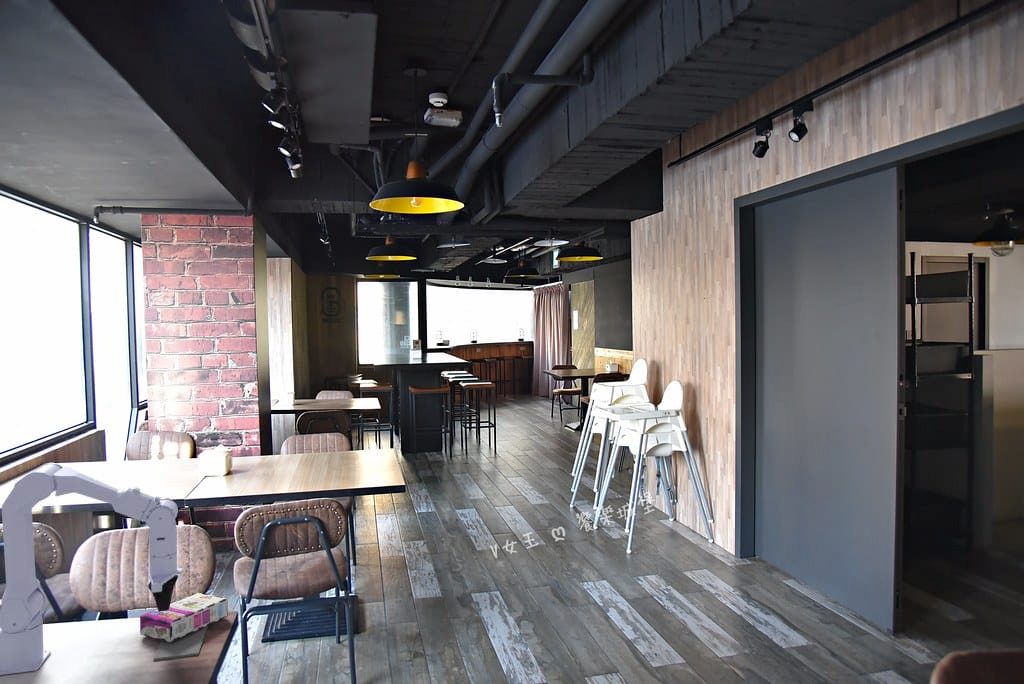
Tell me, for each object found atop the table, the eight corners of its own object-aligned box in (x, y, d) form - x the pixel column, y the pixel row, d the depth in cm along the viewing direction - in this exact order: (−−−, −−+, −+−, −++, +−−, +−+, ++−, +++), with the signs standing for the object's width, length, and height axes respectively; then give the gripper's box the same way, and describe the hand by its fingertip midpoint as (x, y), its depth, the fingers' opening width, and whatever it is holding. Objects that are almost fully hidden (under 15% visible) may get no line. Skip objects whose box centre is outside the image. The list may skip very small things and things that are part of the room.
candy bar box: (170, 644, 151) (228, 617, 166) (169, 622, 151) (228, 597, 166) (139, 636, 156) (198, 610, 171) (138, 615, 156) (198, 591, 171)
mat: (153, 660, 146) (153, 658, 146) (166, 631, 159) (166, 629, 159) (198, 655, 149) (198, 652, 149) (207, 626, 162) (207, 624, 162)
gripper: (175, 562, 146) (176, 621, 147) (187, 540, 160) (188, 594, 161) (140, 566, 144) (141, 625, 145) (155, 543, 158) (156, 598, 159)
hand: (163, 609), depth 153 cm, fingers closed
